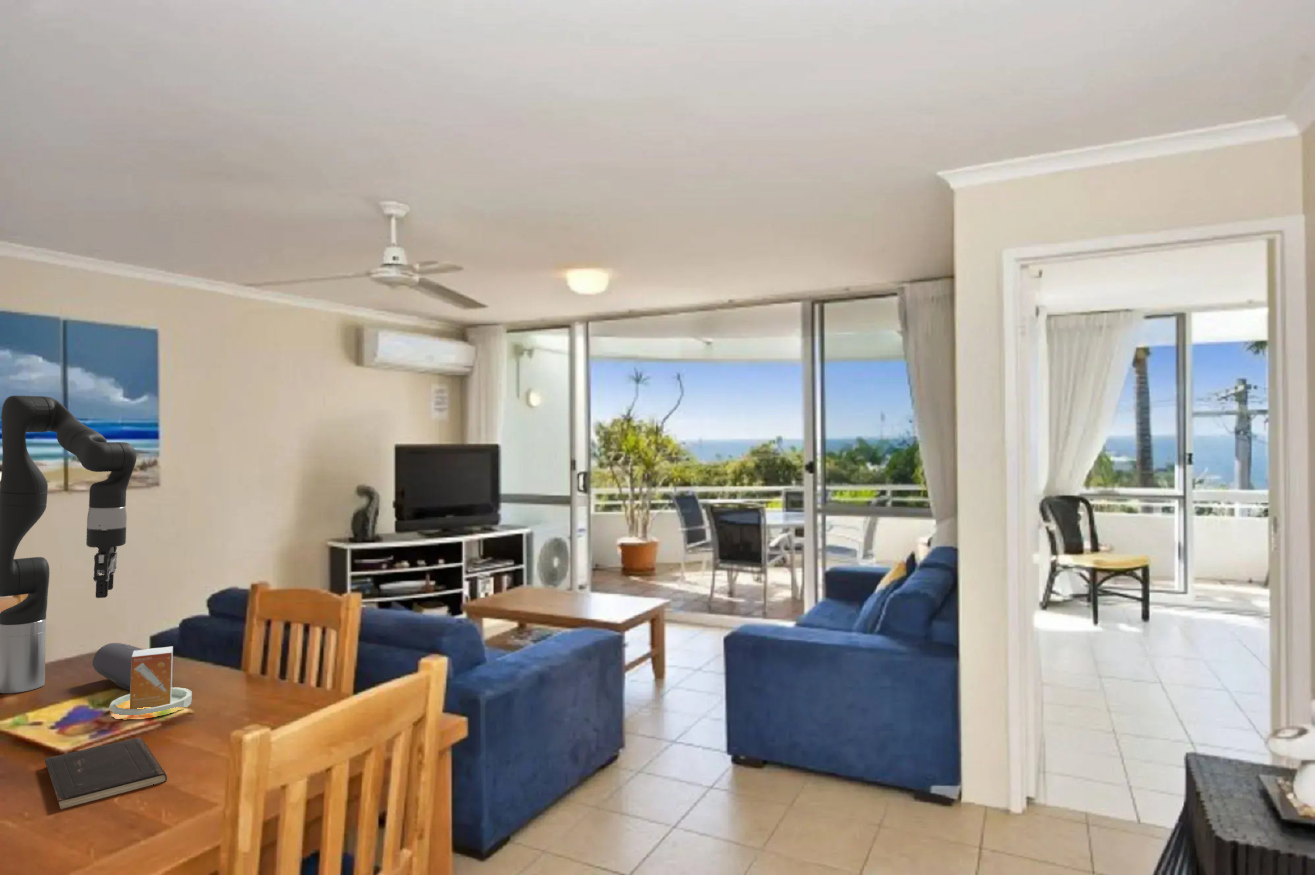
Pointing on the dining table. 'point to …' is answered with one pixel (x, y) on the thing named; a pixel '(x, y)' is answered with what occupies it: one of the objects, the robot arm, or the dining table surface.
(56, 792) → the hardcover book
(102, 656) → the bluetooth speaker
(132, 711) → the round tray
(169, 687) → the small box
